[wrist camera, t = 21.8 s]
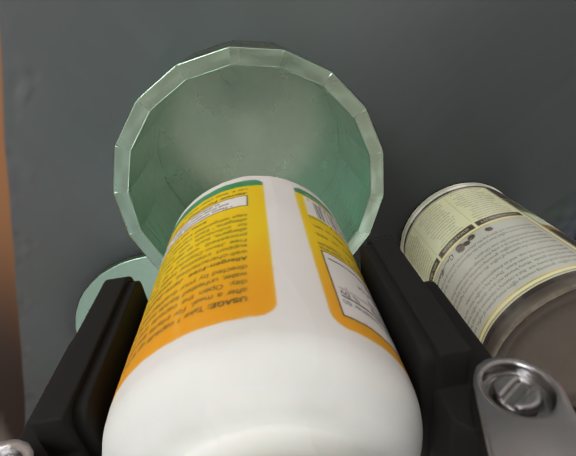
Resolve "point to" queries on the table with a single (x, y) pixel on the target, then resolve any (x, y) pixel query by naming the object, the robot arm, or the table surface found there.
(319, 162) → the pot
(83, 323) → the robot arm
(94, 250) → the table surface
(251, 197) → the supplement bottle
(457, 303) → the coffee can
